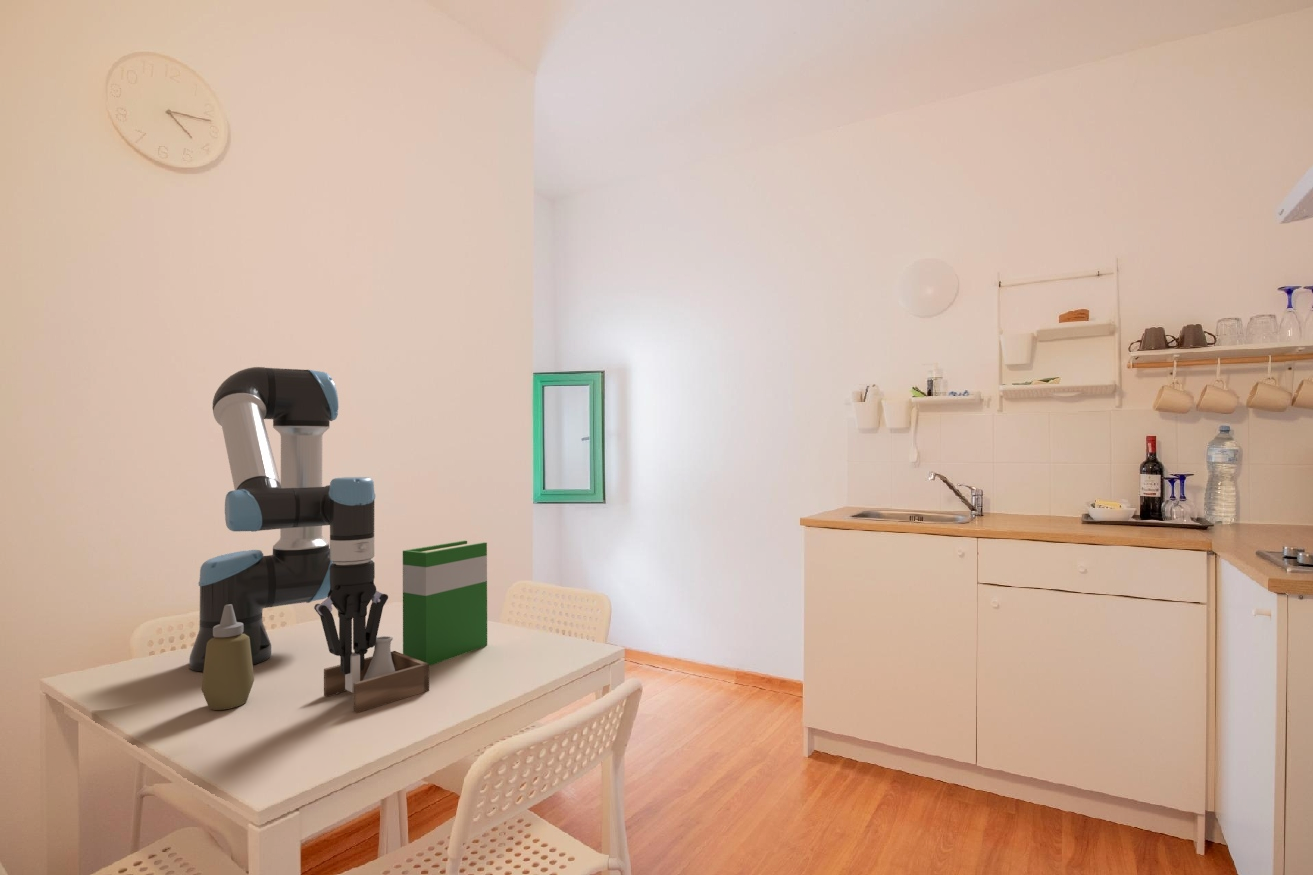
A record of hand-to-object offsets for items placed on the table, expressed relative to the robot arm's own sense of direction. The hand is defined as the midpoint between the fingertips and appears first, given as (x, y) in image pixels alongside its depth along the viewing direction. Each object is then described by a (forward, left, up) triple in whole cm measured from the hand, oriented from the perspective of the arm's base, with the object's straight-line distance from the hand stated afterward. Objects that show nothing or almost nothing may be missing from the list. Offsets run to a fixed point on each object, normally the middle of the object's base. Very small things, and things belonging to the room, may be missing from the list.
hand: (352, 689), depth 122 cm
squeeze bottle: (-15, -15, -2) cm, 22 cm away
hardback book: (-11, +27, -2) cm, 29 cm away
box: (0, +5, -2) cm, 5 cm away
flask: (+1, +5, -2) cm, 5 cm away
